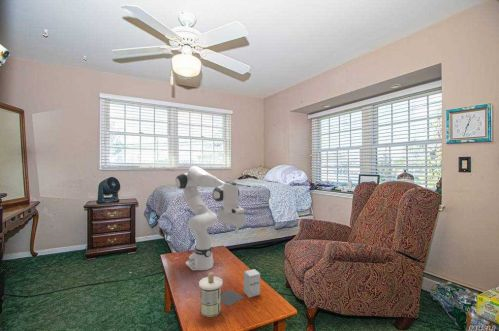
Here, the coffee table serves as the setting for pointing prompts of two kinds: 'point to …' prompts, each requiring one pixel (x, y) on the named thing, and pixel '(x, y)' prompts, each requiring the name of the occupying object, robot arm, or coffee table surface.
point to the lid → (210, 282)
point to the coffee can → (210, 302)
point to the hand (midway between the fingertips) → (230, 231)
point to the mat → (230, 297)
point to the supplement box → (251, 283)
